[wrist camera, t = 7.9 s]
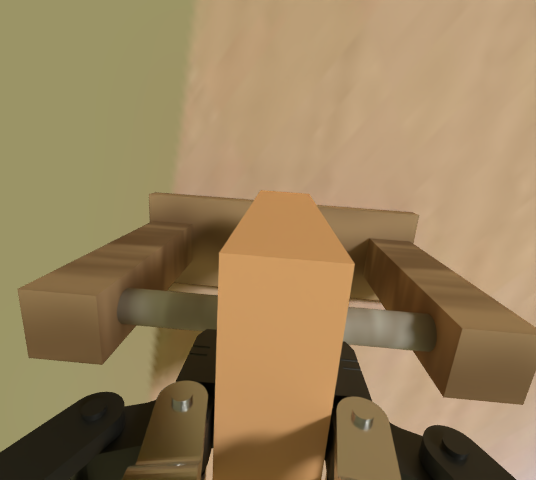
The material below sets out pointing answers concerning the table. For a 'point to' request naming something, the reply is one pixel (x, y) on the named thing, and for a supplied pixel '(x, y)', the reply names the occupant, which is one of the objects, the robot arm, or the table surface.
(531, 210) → the table surface
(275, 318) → the orange block
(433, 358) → the rail
